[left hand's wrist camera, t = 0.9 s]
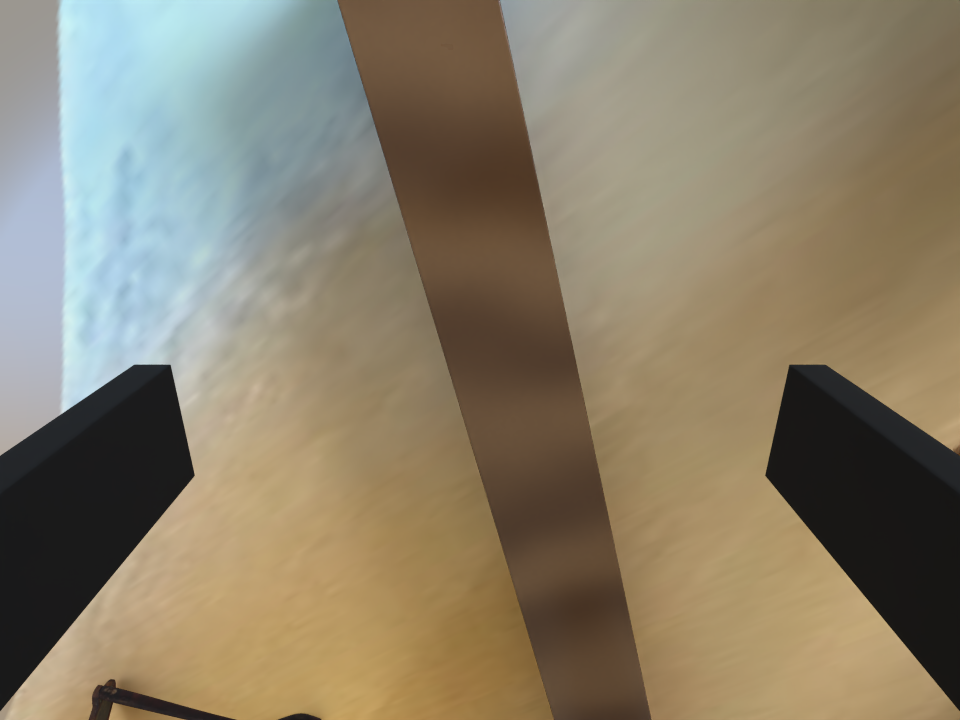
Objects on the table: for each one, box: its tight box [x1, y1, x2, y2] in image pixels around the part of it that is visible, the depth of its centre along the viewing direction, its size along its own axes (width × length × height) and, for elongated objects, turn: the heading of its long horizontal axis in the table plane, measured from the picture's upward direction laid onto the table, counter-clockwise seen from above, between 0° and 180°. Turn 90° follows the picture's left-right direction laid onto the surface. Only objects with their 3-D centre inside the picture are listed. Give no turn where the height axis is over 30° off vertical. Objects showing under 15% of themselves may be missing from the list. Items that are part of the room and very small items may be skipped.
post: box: [337, 0, 651, 720], centre depth 34 cm, size 78×5×8 cm, turn 14°
